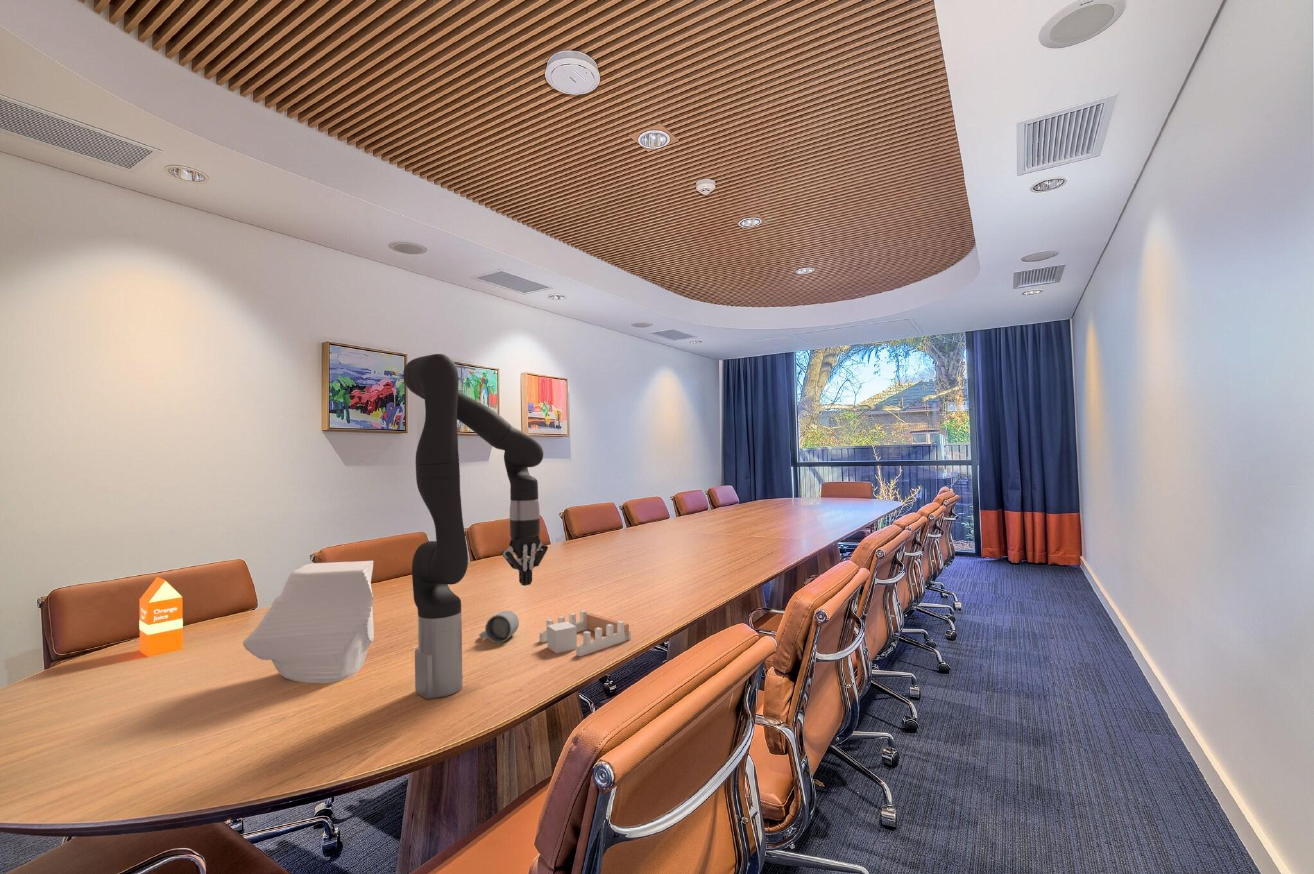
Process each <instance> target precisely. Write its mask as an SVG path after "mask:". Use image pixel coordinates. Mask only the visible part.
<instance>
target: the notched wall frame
mask: <svg viewBox="0 0 1314 874" xmlns="http://www.w3.org/2000/svg"><path fill="white" fill-rule="evenodd" d="M568 618H569V619H568V620H569V621H568V622H569V623H571V624H573V625H574V626H576V632H577V633H579V632H582V637H583V638H582V639H583V641H582V643H580V644H577V646H576V649H575V650H576V651H575V653H576V654H575V655H576V657H577V656H578V657H583V656H586V655H589V654H591V653H595V652H598V651H601V650H604V649H606V648H609V647H612V646H616V645H618V644H621V643H625V642H626V641H630V640H631V639H632V630H630V624H629V623H626V622H625V621H622V620H616V619H612V618H609V617H605V616H602V615H598V614H595V613H591V612H587V611H586V610H584V609H583V610H580V611H579V621H577V615H576V613H569V614H568ZM562 622H566V618H565V616H562V615H561V616H557V623H562ZM552 624H554V620H553V619H550V618H549V619H546V624H545V625H546V627H547V625H552ZM592 632H594V639H593V640H591V639H592V638H591V637H592V636H591V635H592V634H591V633H592ZM603 635H604V636H603ZM539 642H540V643H542V644H543V643H546V642H547V630H545V631H541V632H539Z"/></svg>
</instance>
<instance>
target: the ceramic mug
mask: <svg viewBox="0 0 1314 874" xmlns="http://www.w3.org/2000/svg"><path fill="white" fill-rule="evenodd" d="M519 625H520V620H519V617H518V615H517V614H516V613H515V612H513V611H510V610H505V611H504V610H502V611H501V612H499V613H497V614H495V615H492V616H491V617H490V618H489V619H488V620H487V621H486V624H485V627H484V628H485V629H484V631H482V632H480V633H479V634H478V636H479V638H480V639H481V640H484V639H486V638H488V639H489V641H491V642H493V643H496V644H501V643H505V642H506V641H508V639H510V638H511V637H512V636H514V634H515V633H516V632H517V630H518V628H519Z"/></svg>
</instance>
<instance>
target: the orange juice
mask: <svg viewBox="0 0 1314 874" xmlns="http://www.w3.org/2000/svg"><path fill="white" fill-rule="evenodd" d="M183 620H184V619H183V596H182V595H181V594H180V593H179V592H178V591H177V590H176V589H175V588H174V587H173V586H172V585H171V584H170V583H169V582H168V581H167V580H166V579H163V578H162V577H159V576H156V578H155V579H154V581H152V583H151V584H150V585H149V587H148V588H147V589H146V591H145V592H144V593H143V594H142V596H141V597H140V598H139V621H138V623H139V626H138V627H139V651H140V653H142V654H143V655H145V656H146V657H148V658H150V657H154V656H155V657H156V656H159V655H163V654H167V653H173V652H177V651H181V650H184V649H183V646H184V645H183V644H184V643H183V641H184V640H183V637H184V636H183V633H184V632H183V630H184V629H183V627H184V626H183V625H184V621H183Z"/></svg>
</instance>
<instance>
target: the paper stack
mask: <svg viewBox="0 0 1314 874" xmlns="http://www.w3.org/2000/svg"><path fill="white" fill-rule="evenodd" d="M373 570H374V560H360V561H337V562H314V563H306V564H304V565H302V566H300V567H299V568H296V569H294V570H293V571H291V572H290V574H289V576H288V578H287V580H286V582H285V585H284V586H283V588H282V591H281V593H280V595H279V596H277V597H275V598H274V600H273V602H272V603H271V606H270V607H269V609H268V610H267V611H266V613H265V615H264V616H263V617H262V618H261V621H259V624H258V626H256V627H255V629H253V631H252V632H250V634H248V636H247V637H246V638H245V639H244V640H243V642H242V646H243V648H244V649H245V650H246V651H248V652H249V653H250V654H252V656H254V657H256V658H257V659H260V660H261V661H262V660H263V661H264V660H265V661H270V660H271V662H272V664H273V666H274V667H275V669H276V671H277V672H278V673H279V674H280V675H281V676H283V678H285V679H287V680H290V681H293V682H296V683H298V682H299V683H304V684H305V683H307V684H308V683H309V684H313V683H314V684H332V683H337V682H340V681H343V680H345V679H347V678H349V677H352V676H353V675H355V674H357V673H358V672H359V671H360V670H361V668H363V665H364V663H365V659H366V657H367V654H368V650H369V648H370V645H371V643H372V642H374V638H375V636H374V635H375V634H374V633H375V632H374V631H375V629H374V628H375V627H374V615H373V612H374V611H373V602H374V593H373V590H372V586H371V585H372V584H371V583H372V582H371V581H372V578H373V577H372V576H373Z"/></svg>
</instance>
